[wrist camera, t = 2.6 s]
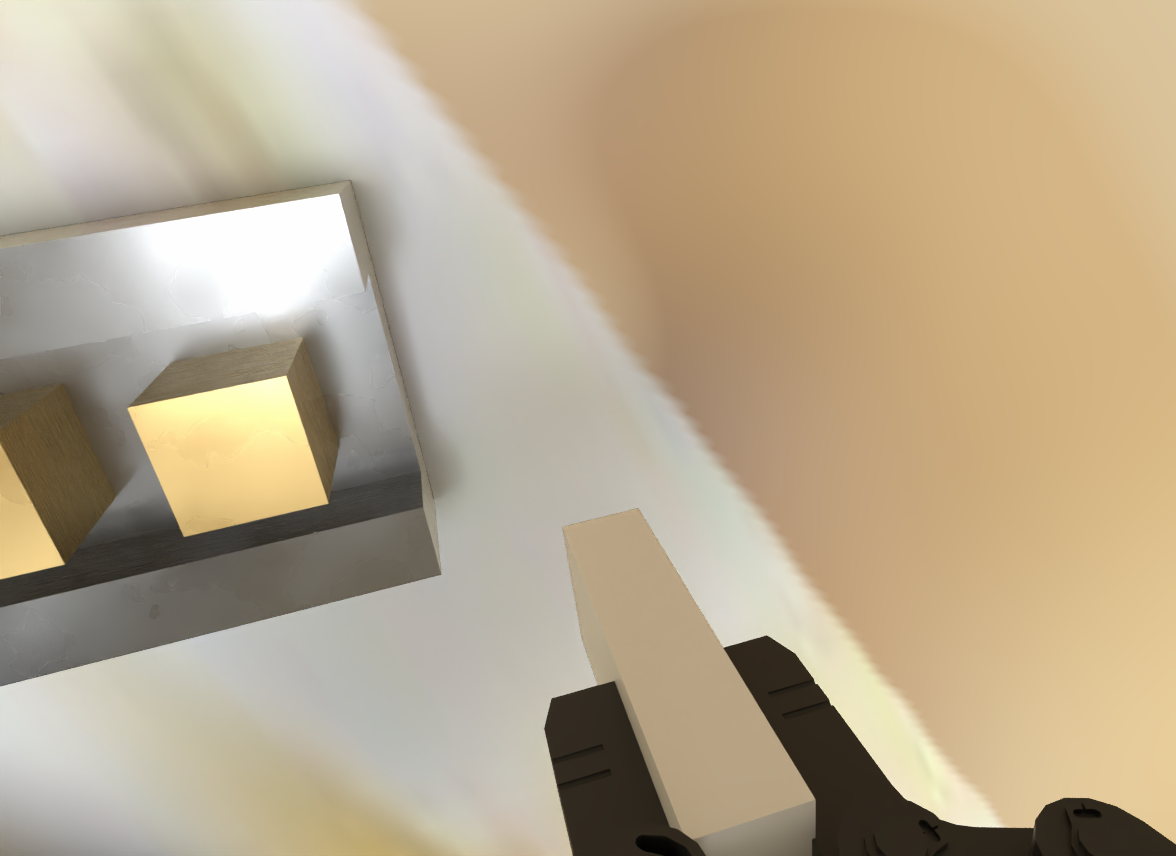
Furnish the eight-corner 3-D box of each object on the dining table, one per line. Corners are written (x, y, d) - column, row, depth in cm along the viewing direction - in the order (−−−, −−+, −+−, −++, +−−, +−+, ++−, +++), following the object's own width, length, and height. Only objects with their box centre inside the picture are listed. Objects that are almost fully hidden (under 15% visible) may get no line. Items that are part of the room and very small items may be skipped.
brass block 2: (216, 475, 27) (183, 536, 23) (171, 362, 25) (127, 408, 21) (338, 448, 27) (328, 503, 23) (303, 336, 26) (285, 376, 22)
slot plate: (-53, 615, 29) (-153, 724, 24) (-268, 278, 23) (-466, 323, 18) (434, 500, 33) (441, 574, 27) (350, 180, 27) (338, 193, 21)
